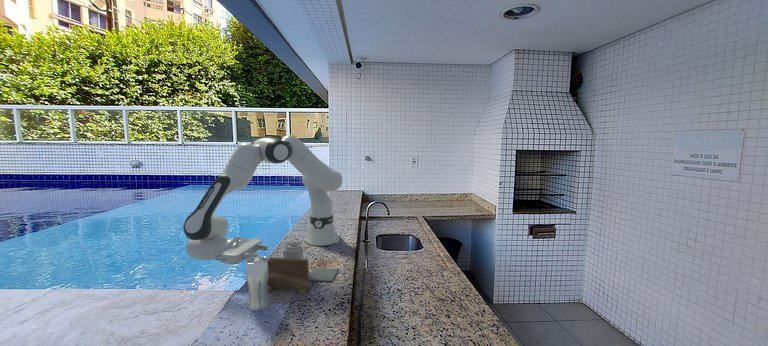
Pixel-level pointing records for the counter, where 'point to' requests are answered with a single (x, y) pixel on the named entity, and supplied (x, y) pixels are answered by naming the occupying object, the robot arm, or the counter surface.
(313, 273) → the slate mat
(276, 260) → the walnut screen
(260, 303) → the beer glass
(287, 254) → the can
